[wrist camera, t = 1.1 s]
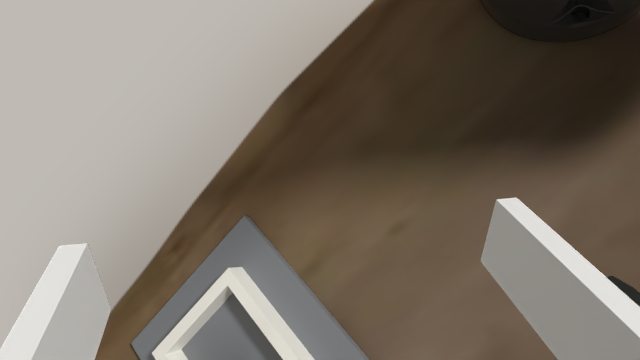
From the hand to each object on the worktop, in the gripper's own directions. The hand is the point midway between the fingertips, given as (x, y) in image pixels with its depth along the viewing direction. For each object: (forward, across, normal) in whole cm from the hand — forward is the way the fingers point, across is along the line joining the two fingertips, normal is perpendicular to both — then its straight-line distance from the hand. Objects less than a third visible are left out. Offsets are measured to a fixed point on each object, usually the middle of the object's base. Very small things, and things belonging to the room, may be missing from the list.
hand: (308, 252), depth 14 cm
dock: (+18, -4, -28) cm, 33 cm away
